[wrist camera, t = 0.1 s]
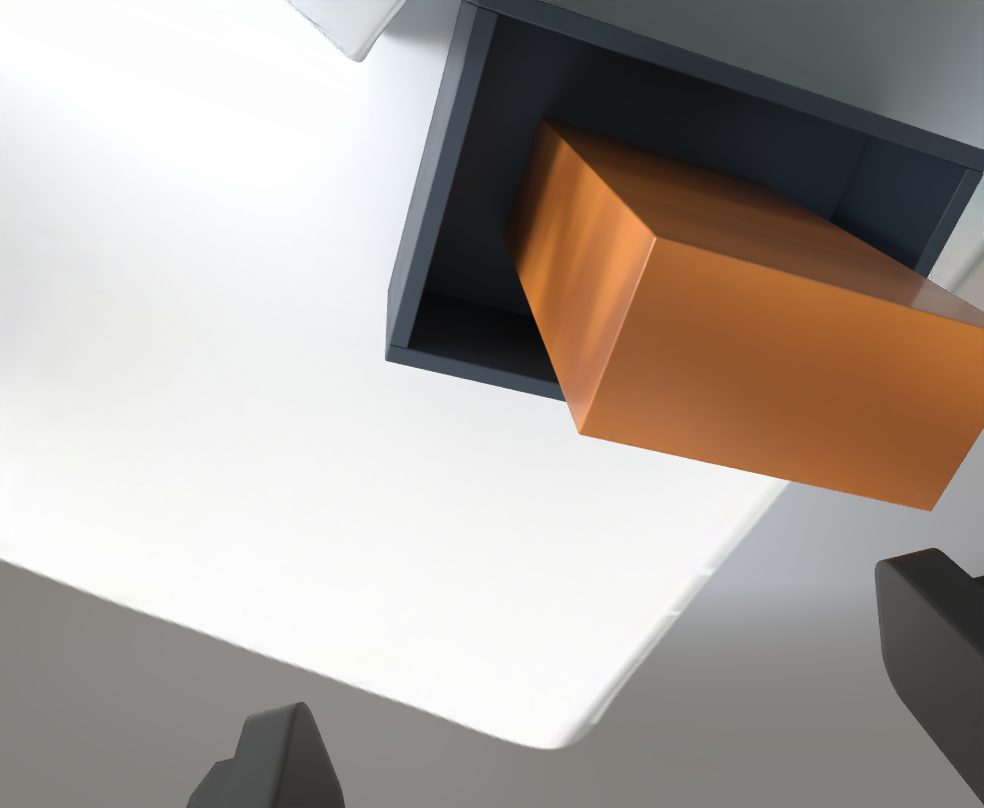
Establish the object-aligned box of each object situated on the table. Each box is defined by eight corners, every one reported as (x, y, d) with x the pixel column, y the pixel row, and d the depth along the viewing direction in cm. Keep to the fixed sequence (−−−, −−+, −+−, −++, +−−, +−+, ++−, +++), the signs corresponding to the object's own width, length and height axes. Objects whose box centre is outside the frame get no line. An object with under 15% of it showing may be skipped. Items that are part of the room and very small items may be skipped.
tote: (466, -21, 27) (484, -18, 22) (885, 119, 31) (995, 153, 25) (387, 291, 32) (384, 361, 26) (758, 382, 36) (827, 461, 30)
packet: (540, 115, 29) (655, 236, 16) (766, 184, 31) (1038, 342, 18) (502, 236, 31) (578, 435, 18) (718, 294, 33) (931, 512, 20)
